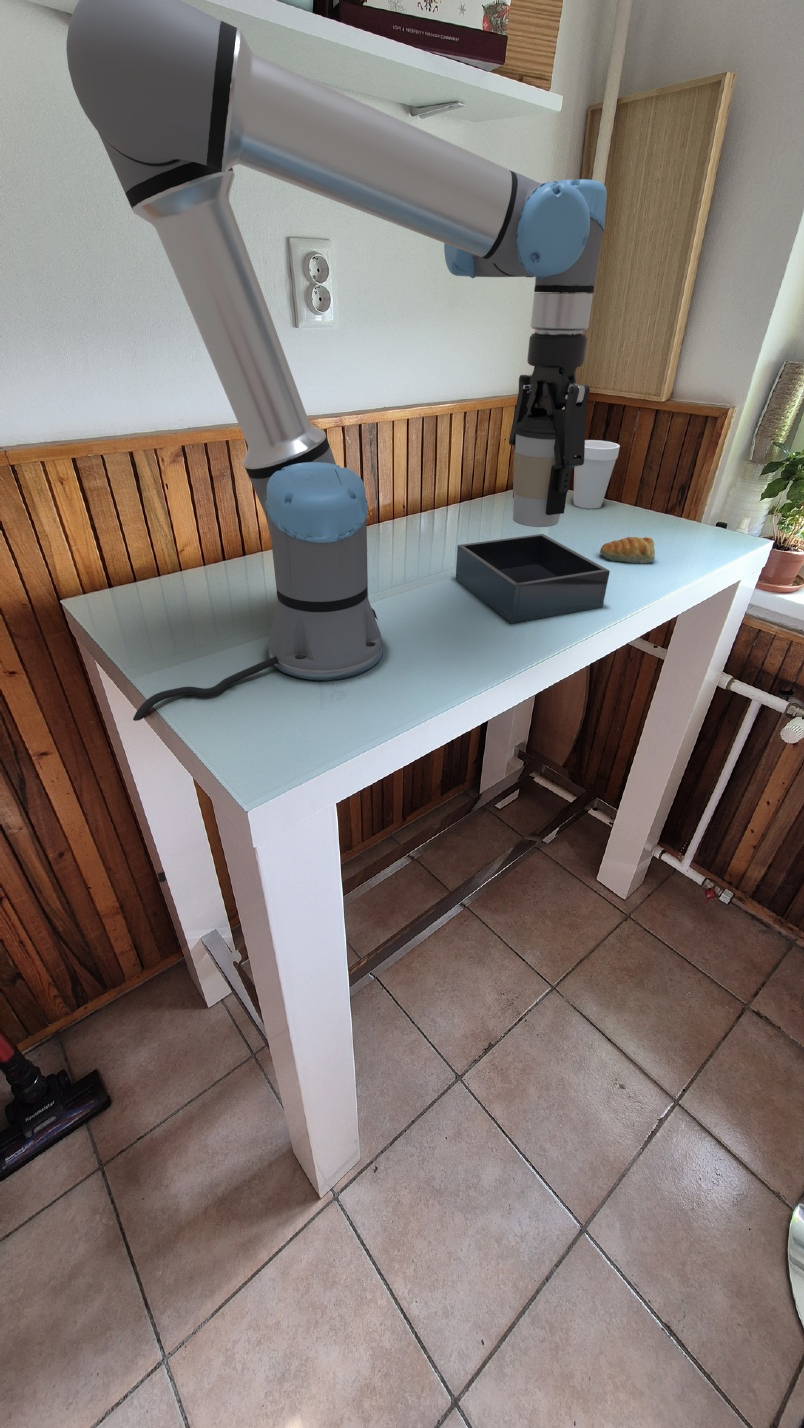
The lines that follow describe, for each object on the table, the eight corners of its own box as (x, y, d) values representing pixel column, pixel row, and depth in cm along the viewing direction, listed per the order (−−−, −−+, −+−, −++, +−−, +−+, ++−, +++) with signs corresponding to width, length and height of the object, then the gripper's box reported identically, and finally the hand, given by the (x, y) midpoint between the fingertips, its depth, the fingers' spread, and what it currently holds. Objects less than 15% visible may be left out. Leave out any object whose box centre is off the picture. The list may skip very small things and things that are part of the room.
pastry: (604, 564, 117) (608, 543, 115) (594, 551, 122) (598, 531, 120) (656, 564, 117) (660, 543, 115) (643, 551, 123) (647, 531, 121)
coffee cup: (565, 531, 95) (582, 420, 86) (503, 527, 96) (514, 417, 88) (565, 513, 102) (580, 410, 94) (507, 509, 103) (518, 407, 95)
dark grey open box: (511, 623, 96) (515, 585, 92) (455, 579, 110) (457, 544, 107) (602, 607, 101) (610, 570, 98) (538, 566, 115) (542, 533, 112)
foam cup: (567, 508, 145) (576, 447, 138) (565, 497, 153) (574, 439, 146) (610, 511, 144) (622, 449, 137) (606, 500, 152) (617, 441, 145)
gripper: (635, 337, 78) (601, 522, 91) (539, 327, 95) (521, 485, 107) (583, 338, 76) (556, 528, 88) (494, 327, 92) (481, 489, 105)
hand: (537, 504), depth 98 cm, fingers closed on coffee cup, 9 cm apart
